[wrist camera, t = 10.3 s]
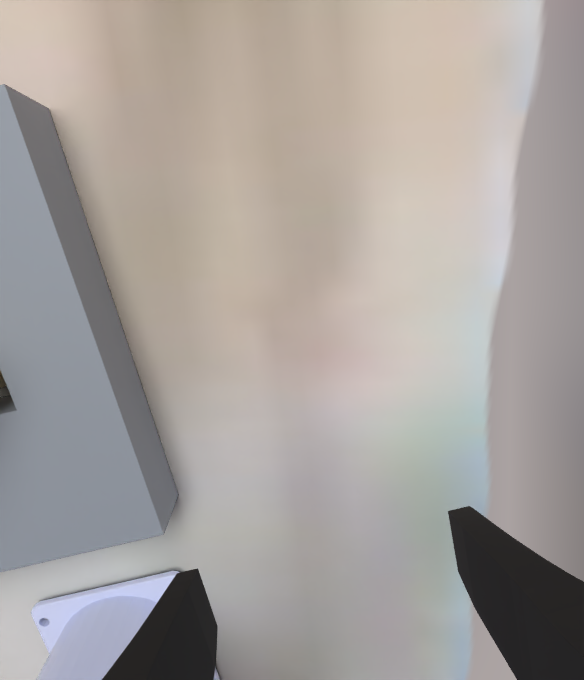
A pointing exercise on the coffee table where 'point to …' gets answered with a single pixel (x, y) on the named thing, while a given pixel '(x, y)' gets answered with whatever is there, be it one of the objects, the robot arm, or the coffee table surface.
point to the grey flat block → (64, 369)
